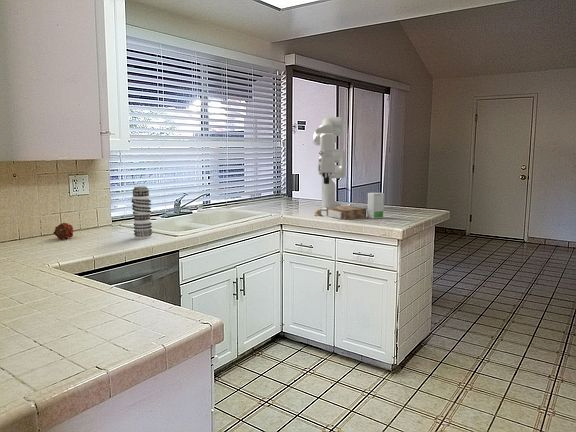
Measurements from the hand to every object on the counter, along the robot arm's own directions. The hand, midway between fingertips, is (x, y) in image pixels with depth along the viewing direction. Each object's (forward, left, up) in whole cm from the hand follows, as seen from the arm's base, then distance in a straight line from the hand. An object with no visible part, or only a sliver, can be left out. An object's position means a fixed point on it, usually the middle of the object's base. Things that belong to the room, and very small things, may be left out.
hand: (326, 183), depth 281 cm
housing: (-14, +2, -21) cm, 26 cm away
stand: (-2, -12, -21) cm, 25 cm away
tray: (-12, +2, -21) cm, 24 cm away
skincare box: (-26, +16, -22) cm, 37 cm away
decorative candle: (+112, +2, -22) cm, 114 cm away
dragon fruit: (+146, -16, -22) cm, 149 cm away
